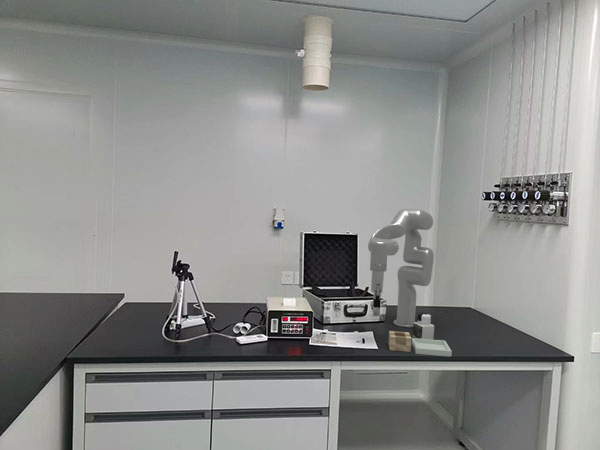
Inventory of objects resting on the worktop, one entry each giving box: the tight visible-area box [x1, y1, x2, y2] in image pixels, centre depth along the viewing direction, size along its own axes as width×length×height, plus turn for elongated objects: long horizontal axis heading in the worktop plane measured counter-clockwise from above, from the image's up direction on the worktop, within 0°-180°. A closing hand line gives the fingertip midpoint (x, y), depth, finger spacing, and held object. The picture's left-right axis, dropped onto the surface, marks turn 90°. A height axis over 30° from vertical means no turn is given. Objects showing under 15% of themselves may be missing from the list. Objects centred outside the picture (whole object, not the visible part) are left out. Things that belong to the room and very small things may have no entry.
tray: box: [411, 337, 453, 358], centre depth 203 cm, size 15×15×2 cm
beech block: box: [388, 330, 412, 353], centre depth 204 cm, size 9×9×6 cm
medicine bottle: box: [412, 312, 435, 340], centre depth 220 cm, size 7×7×12 cm
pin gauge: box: [372, 291, 382, 317], centre depth 211 cm, size 3×3×12 cm
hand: (376, 306), depth 211 cm, fingers closed on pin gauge, 3 cm apart
